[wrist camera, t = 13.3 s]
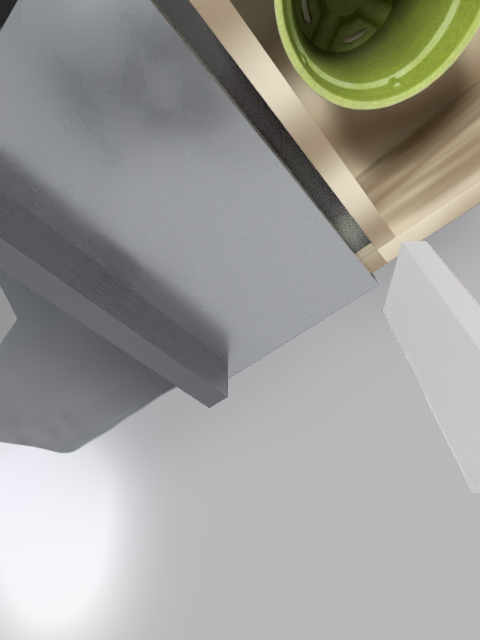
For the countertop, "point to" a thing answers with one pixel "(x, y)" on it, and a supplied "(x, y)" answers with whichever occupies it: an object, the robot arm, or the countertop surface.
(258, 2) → the housing
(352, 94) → the plant pot
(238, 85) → the countertop surface
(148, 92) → the lid
